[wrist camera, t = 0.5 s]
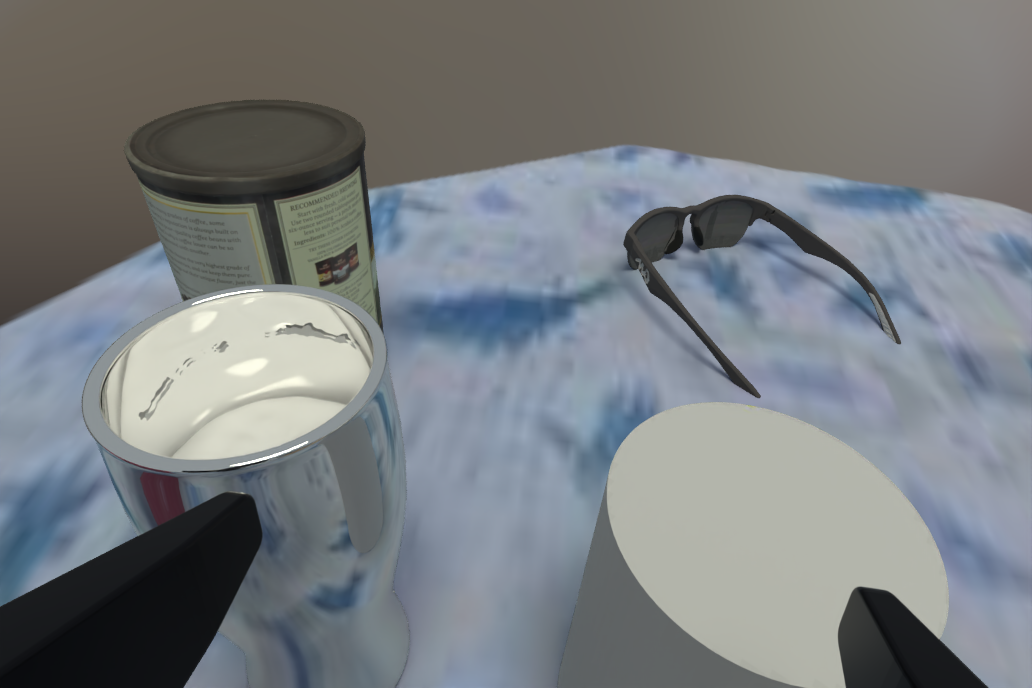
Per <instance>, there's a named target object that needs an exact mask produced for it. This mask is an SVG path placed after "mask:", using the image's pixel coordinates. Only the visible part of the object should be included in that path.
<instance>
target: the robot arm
mask: <svg viewBox="0 0 1032 688" xmlns="http://www.w3.org/2000/svg"><path fill="white" fill-rule="evenodd" d="M262 537H263V531H262V526H261V522H260V518H259V514H258V510H257V506H256V502H255V499H254V498H253V497H252V495H250V494H247V493H241V492H234V491H226V492H223V493H221V494H219V495H217V496H215V497H213V498H211V499H209V500H207V501H205V502H203V503H201V504H199V505H198V506H196V507H194V508H192V509H190V510H188V511H186V512H184V513H182V514H180V515H178V516H176V517H174V518H172V519H170V520H168V521H166V522H164V523H162V524H161V525H159V526H157V527H155V528H153V529H151V530H149V531H147V532H145V533H143V534H141V535H139V536H137V537H135V538H133V539H131V540H129V541H127V542H125V543H123V544H122V545H120V546H118V547H116V548H114V549H112V550H110V551H108V552H106V553H104V554H102V555H100V556H98V557H96V558H94V559H92V560H90V561H88V562H86V563H84V564H83V565H81V566H79V567H77V568H75V569H73V570H71V571H69V572H67V573H65V574H63V575H61V576H59V577H57V578H55V579H53V580H51V581H49V582H47V583H45V584H43V585H42V586H40V587H38V588H36V589H34V590H32V591H30V592H28V593H26V594H24V595H22V596H20V597H18V598H16V599H14V600H12V601H10V602H8V603H6V604H4V605H3V606H1V607H0V688H184V686H185V684H186V683H187V681H188V679H189V678H190V676H191V675H192V673H193V671H194V670H195V668H196V667H197V665H198V663H199V662H200V660H201V659H202V657H203V655H204V654H205V652H206V650H207V649H208V647H209V645H210V644H211V642H212V640H213V639H214V637H215V635H216V633H217V631H218V630H219V628H220V626H221V624H222V622H223V620H224V618H225V616H226V614H227V612H228V610H229V608H230V606H231V604H232V602H233V600H234V598H235V596H236V594H237V592H238V590H239V588H240V586H241V584H242V582H243V580H244V578H245V576H246V574H247V572H248V570H249V568H250V566H251V564H252V562H253V560H254V558H255V556H256V554H257V552H258V550H259V548H260V545H261V542H262ZM838 646H839V652H840V657H841V663H842V669H843V675H844V680H845V686H846V688H988V687H987V686H986V685H985V684H984V683H983V682H982V681H981V680H980V679H979V678H978V677H977V676H976V675H975V674H974V673H973V672H972V671H971V670H970V669H969V668H968V667H967V666H966V665H965V664H964V663H963V662H962V661H961V660H960V659H959V658H958V657H957V656H956V655H955V654H954V653H953V652H952V651H951V650H950V649H949V648H948V647H947V646H946V645H945V644H944V643H943V642H941V641H940V640H939V639H938V638H937V637H936V636H935V635H934V634H933V633H932V632H931V631H930V630H929V629H928V628H927V627H926V626H925V625H924V624H923V623H922V622H921V621H920V620H919V619H918V618H917V617H916V616H915V615H914V614H913V613H912V612H911V611H910V610H909V609H908V608H907V607H906V606H905V605H904V604H903V603H902V602H901V601H900V600H899V599H898V598H897V597H896V596H895V595H893V594H892V593H891V592H889V591H886V590H882V589H876V588H869V587H862V586H859V587H856V588H854V589H853V591H852V593H851V595H850V597H849V600H848V603H847V605H846V608H845V611H844V613H843V616H842V618H841V621H840V624H839V628H838Z"/></svg>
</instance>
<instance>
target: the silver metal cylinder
mask: <svg viewBox="0 0 1032 688" xmlns="http://www.w3.org/2000/svg"><path fill="white" fill-rule="evenodd" d="M82 414H83V419H84V422H85V425H86V427H87V429H88V431H89V433H90V434H91V436H92V437H93V438H94V440H95V441H96V444H97V446H98V448H99V451H100V453H101V455H102V458H103V460H104V463H105V465H106V468H107V471H108V473H109V476H110V478H111V481H112V483H113V485H114V488H115V490H116V492H117V495H118V497H119V499H120V502H121V504H122V506H123V508H124V511H125V513H126V515H127V517H128V519H129V521H130V523H131V525H132V527H133V528H134V530H135V532H136V534H137V536H139V535H141V534H143V533H145V532H147V531H149V530H151V529H153V528H155V527H157V526H159V525H161V524H162V523H164V522H166V521H168V520H170V519H172V518H174V517H176V516H178V515H180V514H182V513H184V512H186V511H188V510H190V509H192V508H194V507H196V506H198V505H199V504H201V503H203V502H205V501H207V500H209V499H211V498H213V497H215V496H217V495H219V494H221V493H223V492H226V491H234V492H241V493H247V494H250V495H252V497H253V498H254V499H255V502H256V506H257V510H258V514H259V518H260V522H261V526H262V531H263V537H262V542H261V545H260V548H259V550H258V552H257V554H256V556H255V558H254V560H253V562H252V564H251V566H250V568H249V570H248V572H247V574H246V576H245V578H244V580H243V582H242V584H241V586H240V588H239V590H238V592H237V594H236V596H235V598H234V600H233V602H232V604H231V606H230V608H229V610H228V612H227V614H226V616H225V618H224V620H223V622H222V624H221V626H220V628H219V630H218V632H219V633H220V634H221V635H223V636H224V637H225V638H226V639H228V640H229V641H230V642H232V643H233V644H234V645H235V646H237V647H238V648H239V649H240V650H241V651H242V652H243V653H244V654H245V658H246V672H247V679H248V684H249V688H395V686H396V685H397V683H398V681H399V679H400V677H401V675H402V672H403V670H404V667H405V664H406V661H407V657H408V653H409V646H410V630H409V624H408V619H407V616H406V613H405V610H404V608H403V606H402V604H401V602H400V600H399V598H398V597H397V595H396V593H395V591H394V589H393V583H394V576H395V572H396V567H397V562H398V557H399V552H400V546H401V541H402V535H403V529H404V520H405V510H406V500H407V480H406V457H405V449H404V441H403V434H402V427H401V420H400V415H399V410H398V405H397V400H396V395H395V390H394V386H393V382H392V377H391V373H390V368H389V363H388V358H387V344H386V340H385V337H384V334H383V332H382V330H381V328H380V326H379V325H378V323H377V322H376V321H375V319H374V318H373V317H372V316H371V315H370V314H369V313H368V312H367V311H366V310H365V309H363V308H362V307H361V306H359V305H358V304H356V303H354V302H353V301H351V300H349V299H347V298H345V297H343V296H340V295H338V294H335V293H332V292H329V291H326V290H322V289H318V288H313V287H307V286H300V285H288V284H263V285H251V286H242V287H235V288H230V289H225V290H220V291H216V292H212V293H208V294H204V295H201V296H197V297H194V298H191V299H188V300H186V301H183V302H180V303H178V304H175V305H173V306H171V307H169V308H166V309H164V310H162V311H160V312H158V313H156V314H154V315H152V316H151V317H149V318H147V319H145V320H144V321H142V322H140V323H139V324H137V325H136V326H134V327H133V328H131V329H130V330H129V331H127V332H126V333H125V334H123V335H122V336H121V337H120V338H119V339H117V340H116V341H115V342H114V343H113V344H112V345H111V346H110V347H109V348H108V349H107V350H106V351H105V352H104V354H103V355H102V356H101V357H100V358H99V360H98V361H97V362H96V364H95V365H94V367H93V369H92V370H91V372H90V374H89V376H88V379H87V381H86V383H85V386H84V390H83V394H82Z"/></svg>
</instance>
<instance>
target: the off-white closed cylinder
mask: <svg viewBox="0 0 1032 688" xmlns="http://www.w3.org/2000/svg"><path fill="white" fill-rule="evenodd" d="M859 586H862V587H869V588H876V589H882V590H886V591H889V592H891V593H892V594H893V595H895V596H896V597H897V598H898V599H899V600H900V601H901V602H902V603H903V604H904V605H905V606H906V607H907V608H908V609H909V610H910V611H911V612H912V613H913V614H914V615H915V616H916V617H917V618H918V619H919V620H920V621H921V622H922V623H923V624H924V625H925V626H926V627H927V628H928V629H929V630H930V631H931V632H932V633H933V634H934V635H935V636H936V637H937V638H938V639H939V640H940V638H941V636H942V633H943V631H944V627H945V624H946V620H947V615H948V605H949V593H948V583H947V576H946V572H945V568H944V564H943V561H942V558H941V555H940V553H939V550H938V548H937V546H936V543H935V541H934V539H933V537H932V535H931V533H930V531H929V529H928V528H927V526H926V524H925V523H924V521H923V519H922V518H921V517H920V515H919V514H918V512H917V511H916V509H915V508H914V507H913V505H912V504H911V503H910V501H909V500H908V499H907V498H906V497H905V495H904V494H903V493H902V492H901V491H900V490H899V489H898V487H897V486H896V485H895V484H894V483H893V482H892V481H891V480H890V479H889V478H888V477H887V476H886V475H885V474H883V473H882V472H881V471H880V470H879V469H878V468H877V467H876V466H874V465H873V464H872V463H871V462H870V461H868V460H867V459H866V458H864V457H863V456H862V455H861V454H859V453H858V452H856V451H855V450H854V449H852V448H851V447H849V446H848V445H846V444H845V443H843V442H841V441H840V440H838V439H837V438H835V437H833V436H831V435H830V434H828V433H826V432H824V431H822V430H820V429H818V428H816V427H814V426H812V425H810V424H808V423H805V422H803V421H801V420H798V419H796V418H793V417H790V416H788V415H785V414H782V413H779V412H775V411H772V410H768V409H764V408H760V407H755V406H750V405H744V404H736V403H723V402H708V403H696V404H689V405H684V406H679V407H675V408H672V409H669V410H666V411H664V412H661V413H659V414H657V415H655V416H653V417H651V418H649V419H648V420H646V421H644V422H643V423H642V424H640V425H639V426H638V427H636V428H635V429H634V430H633V431H632V432H631V433H630V434H629V435H628V436H627V438H626V439H625V440H624V441H623V443H622V444H621V446H620V447H619V449H618V451H617V452H616V454H615V456H614V459H613V461H612V464H611V467H610V471H609V475H608V479H607V483H606V487H605V491H604V495H603V499H602V503H601V507H600V511H599V515H598V519H597V523H596V527H595V531H594V535H593V539H592V543H591V547H590V551H589V555H588V559H587V563H586V567H585V571H584V575H583V579H582V583H581V587H580V591H579V595H578V599H577V603H576V607H575V611H574V615H573V619H572V623H571V627H570V631H569V635H568V639H567V643H566V647H565V651H564V655H563V659H562V663H561V667H560V672H559V677H558V688H846V686H845V680H844V675H843V669H842V663H841V657H840V652H839V646H838V628H839V624H840V621H841V618H842V616H843V613H844V611H845V608H846V605H847V603H848V600H849V597H850V595H851V593H852V591H853V589H854V588H856V587H859Z"/></svg>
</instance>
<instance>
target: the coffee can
mask: <svg viewBox="0 0 1032 688" xmlns="http://www.w3.org/2000/svg"><path fill="white" fill-rule="evenodd" d="M364 150H365V131H364V129H363V126H362V125H361V124H360V123H359V122H358V121H357V120H356V119H355V118H353V117H351V116H350V115H348V114H346V113H344V112H341V111H339V110H336V109H333V108H330V107H326V106H322V105H318V104H313V103H307V102H299V101H289V100H244V101H232V102H222V103H215V104H209V105H203V106H198V107H194V108H189V109H185V110H181V111H178V112H175V113H172V114H169V115H166V116H163V117H160V118H158V119H155V120H154V121H151V122H149V123H147V124H145V125H143V126H142V127H140V128H138V129H137V130H136V131H135V132H133V133H132V134H131V135H130V136H129V138H128V139H127V141H126V143H125V146H124V152H125V155H126V157H127V160H128V162H129V164H130V166H131V168H132V170H133V171H134V172H135V173H136V174H137V177H138V180H139V183H140V185H141V188H142V191H143V193H144V196H145V198H146V202H147V204H148V207H149V210H150V212H151V215H152V218H153V221H154V224H155V226H156V229H157V232H158V235H159V237H160V240H161V243H162V245H163V248H164V250H165V253H166V256H167V259H168V261H169V264H170V267H171V269H172V272H173V275H174V277H175V280H176V283H177V286H178V288H179V291H180V294H181V297H182V300H183V301H186V300H188V299H191V298H194V297H197V296H201V295H204V294H208V293H212V292H216V291H220V290H225V289H230V288H235V287H242V286H251V285H263V284H288V285H300V286H307V287H313V288H318V289H322V290H326V291H329V292H332V293H335V294H338V295H340V296H343V297H345V298H347V299H349V300H351V301H353V302H354V303H356V304H358V305H359V306H361V307H362V308H363V309H365V310H366V311H367V312H368V313H369V314H370V315H371V316H372V317H373V318H374V319H375V321H376V322H377V323H378V325H379V326H380V328H381V330H382V332H383V324H382V315H381V307H380V297H379V289H378V279H377V271H376V261H375V252H374V244H373V233H372V224H371V215H370V206H369V197H368V188H367V179H366V171H365V162H364ZM383 334H384V333H383Z"/></svg>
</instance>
